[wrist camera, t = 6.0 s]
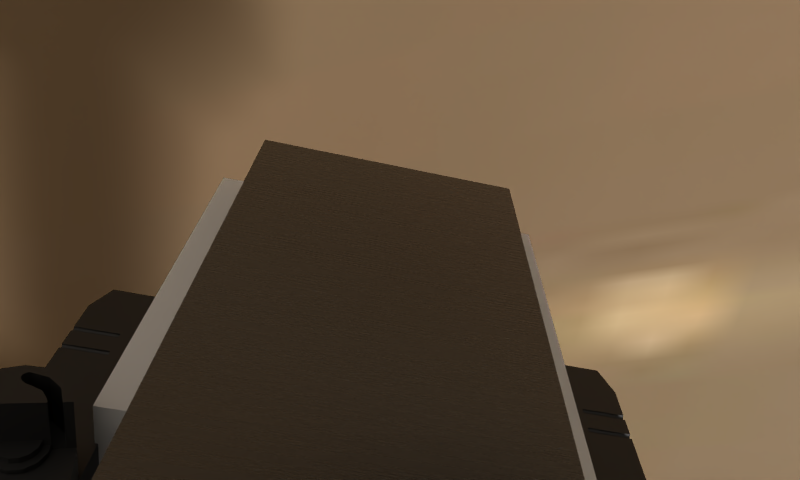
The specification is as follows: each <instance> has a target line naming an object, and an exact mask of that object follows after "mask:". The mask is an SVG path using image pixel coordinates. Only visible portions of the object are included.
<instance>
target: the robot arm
mask: <svg viewBox="0 0 800 480" xmlns="http://www.w3.org/2000/svg"><path fill="white" fill-rule="evenodd" d="M243 182H244V181H239V180H234V179H229V178H223V180H222V181H221V183H220V185H219V187H218V188H217V190H216V192H215V194H214V195H213V197H212V199H211V201H210V202H209V204H208V206H207V208H206V209H205V211H204V213H203V215H202V216H201V218H200V220H199V222H198V223H197V225H196V227H195V229H194V230H193V232H192V234H191V235H190V237H189V239H188V241H187V242H186V244H185V246H184V248H183V249H182V251H181V253H180V255H179V256H178V258H177V260H176V262H175V263H174V265H173V267H172V269H171V270H170V272H169V274H168V276H167V277H166V279H165V281H164V283H163V284H162V286H161V288H160V290H159V291H158V293H157V295H156V297H153V296H147V295H141V294H135V293H129V292H123V291H118V290H113V291H111V292H109V293H108V294H106V295H105V296H103V297H102V298H100V299H98V300H97V301H95V302H94V303H92V304H91V305H89V306H88V307H87V309H86V310H85V312H84V313H83V315H82V316H81V317H80V319H79V320H78V322H77V323H76V324H75V326H74V330H73V331H72V330H71V332H70V333H69V334H68V336H67V337H66V339H65V340H64V342H63V343H62V347H61V348H59V349H58V350H57V351H56V353H55V354H54V356H53V357H52V359H51V360H50V361H49V363H48V364H47V366H46V367H45V368H44V367H36V366H27V365H25V366H17V367H9V368H2V369H0V480H91V479H92V477H93V475H94V473H95V472H96V470H97V468H98V466H99V464H100V462H101V460H102V458H103V456H104V454H105V452H106V450H107V448H108V446H109V444H110V442H111V440H112V438H113V436H114V434H115V432H116V430H117V429H118V427H119V425H120V423H121V421H122V419H123V417H124V415H125V413H126V411H127V409H128V407H129V405H130V403H131V401H132V399H133V397H134V395H135V393H136V391H137V389H138V387H139V385H140V384H141V382H142V380H143V378H144V376H145V374H146V372H147V370H148V368H149V366H150V364H151V362H152V360H153V358H154V356H155V354H156V352H157V350H158V348H159V346H160V344H161V342H162V341H163V339H164V337H165V335H166V333H167V331H168V329H169V327H170V325H171V323H172V321H173V319H174V317H175V315H176V313H177V311H178V309H179V307H180V305H181V303H182V301H183V299H184V297H185V296H186V294H187V292H188V290H189V288H190V286H191V284H192V282H193V280H194V278H195V276H196V274H197V272H198V270H199V268H200V266H201V264H202V262H203V260H204V258H205V256H206V254H207V253H208V251H209V249H210V247H211V245H212V243H213V241H214V239H215V237H216V235H217V233H218V231H219V229H220V227H221V225H222V223H223V221H224V219H225V217H226V215H227V213H228V211H229V209H230V208H231V206H232V204H233V202H234V200H235V198H236V196H237V194H238V192H239V190H240V188H241V186H242V184H243ZM521 237H522V240H523V244H524V248H525V252H526V256H527V260H528V263H529V267H530V271H531V275H532V279H533V283H534V286H535V290H536V294H537V298H538V302H539V306H540V309H541V313H542V317H543V321H544V325H545V329H546V333H547V336H548V340H549V344H550V348H551V352H552V356H553V359H554V363H555V367H556V371H557V375H558V379H559V382H560V386H561V390H562V394H563V398H564V402H565V405H566V409H567V413H568V417H569V421H570V425H571V428H572V432H573V436H574V440H575V444H576V448H577V452H578V455H579V459H580V463H581V467H582V471H583V475H584V478H585V480H646V478H645V475H644V473H643V470H642V467H641V464H640V461H639V459H638V456H637V453H636V450H635V447H634V444H633V442H632V439H630V438H629V436H630V433H629V430H628V428H627V425H626V422H625V420H623V414H622V411H621V408H620V405H619V402H618V399H617V397H616V394H615V392H614V391H613V389H612V388H611V387H610V386H609V385H608V383H607V382H606V381H605V380H604V379H603V377H602V376H601V375H600V374H599V372H598V371H595V370H590V369H584V368H578V367H572V366H566V365H565V364H564V360H563V357H562V353H561V350H560V346H559V342H558V339H557V335H556V332H555V328H554V324H553V321H552V317H551V314H550V310H549V306H548V303H547V299H546V296H545V292H544V288H543V285H542V281H541V278H540V274H539V270H538V267H537V263H536V260H535V256H534V253H533V249H532V245H531V242H530V238H529V235H528V234H523V233H521Z"/></svg>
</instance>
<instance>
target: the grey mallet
mask: <svg viewBox="0 0 800 480" xmlns="http://www.w3.org/2000/svg"><path fill="white" fill-rule="evenodd" d="M91 480H585V478H584V475H583V471H582V467H581V463H580V459H579V455H578V452H577V448H576V444H575V440H574V436H573V432H572V428H571V425H570V421H569V417H568V413H567V409H566V405H565V402H564V398H563V394H562V390H561V386H560V382H559V379H558V375H557V371H556V367H555V363H554V359H553V356H552V352H551V348H550V344H549V340H548V336H547V333H546V329H545V325H544V321H543V317H542V313H541V309H540V306H539V302H538V298H537V294H536V290H535V286H534V283H533V279H532V275H531V271H530V267H529V263H528V260H527V256H526V252H525V248H524V244H523V240H522V237H521V233H520V229H519V225H518V221H517V217H516V214H515V210H514V206H513V202H512V198H511V194H510V190H509V189H507V188H502V187H497V186H492V185H487V184H482V183H477V182H472V181H467V180H462V179H457V178H452V177H447V176H442V175H437V174H432V173H427V172H422V171H417V170H412V169H407V168H403V167H398V166H393V165H388V164H383V163H378V162H373V161H368V160H363V159H358V158H353V157H348V156H343V155H338V154H333V153H328V152H323V151H318V150H313V149H308V148H303V147H298V146H293V145H288V144H283V143H278V142H273V141H268V140H265V141H264V143H263V145H262V147H261V149H260V151H259V153H258V155H257V157H256V159H255V161H254V163H253V165H252V166H251V168H250V170H249V172H248V174H247V176H246V178H245V180H244V182H243V184H242V186H241V188H240V190H239V192H238V194H237V196H236V198H235V200H234V202H233V204H232V206H231V208H230V209H229V211H228V213H227V215H226V217H225V219H224V221H223V223H222V225H221V227H220V229H219V231H218V233H217V235H216V237H215V239H214V241H213V243H212V245H211V247H210V249H209V251H208V253H207V254H206V256H205V258H204V260H203V262H202V264H201V266H200V268H199V270H198V272H197V274H196V276H195V278H194V280H193V282H192V284H191V286H190V288H189V290H188V292H187V294H186V296H185V297H184V299H183V301H182V303H181V305H180V307H179V309H178V311H177V313H176V315H175V317H174V319H173V321H172V323H171V325H170V327H169V329H168V331H167V333H166V335H165V337H164V339H163V341H162V342H161V344H160V346H159V348H158V350H157V352H156V354H155V356H154V358H153V360H152V362H151V364H150V366H149V368H148V370H147V372H146V374H145V376H144V378H143V380H142V382H141V384H140V385H139V387H138V389H137V391H136V393H135V395H134V397H133V399H132V401H131V403H130V405H129V407H128V409H127V411H126V413H125V415H124V417H123V419H122V421H121V423H120V425H119V427H118V429H117V430H116V432H115V434H114V436H113V438H112V440H111V442H110V444H109V446H108V448H107V450H106V452H105V454H104V456H103V458H102V460H101V462H100V464H99V466H98V468H97V470H96V472H95V473H94V475H93V477H92V479H91Z"/></svg>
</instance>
